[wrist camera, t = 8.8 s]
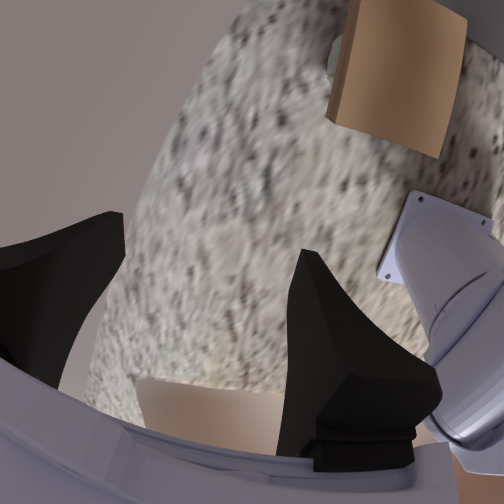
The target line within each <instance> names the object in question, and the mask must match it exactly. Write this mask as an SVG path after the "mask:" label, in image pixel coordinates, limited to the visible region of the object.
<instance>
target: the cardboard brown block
mask: <svg viewBox="0 0 504 504" xmlns="http://www.w3.org/2000/svg"><path fill="white" fill-rule="evenodd" d="M467 21H468V20H467V19H465V18H463V17H462V16H460V15H458V14H456V13H455V12H453V11H451V10H449V9H448V8H446V7H444V6H442V5H440V4H438V3H436V2H434V1H432V0H349V5H348V10H347V16H346V21H345V26H344V31H343V37H342V42H341V47H340V52H339V57H338V61H337V66H336V71H335V76H334V80H333V85H332V90H331V94H330V99H329V103H328V107H327V112H326V116H325V117H326V118H328V119H329V120H330V121H332V122H333V123H334V124H336V125H339V126H343V127H347V128H350V129H354V130H357V131H360V132H364V133H367V134H370V135H373V136H376V137H379V138H382V139H385V140H388V141H391V142H394V143H397V144H400V145H403V146H405V147H408V148H411V149H413V150H416V151H419V152H421V153H424V154H426V155H429V156H431V157H434V158H436V159H438V158H439V155H440V152H441V148H442V145H443V142H444V138H445V135H446V131H447V128H448V124H449V120H450V116H451V112H452V108H453V104H454V100H455V95H456V91H457V86H458V81H459V76H460V71H461V65H462V59H463V53H464V46H465V39H466V31H467Z"/></svg>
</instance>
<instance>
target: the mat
mask: <svg viewBox="0 0 504 504" xmlns="http://www.w3.org/2000/svg"><path fill="white" fill-rule="evenodd" d="M432 1H434V2H436V3H438V4H440V5H442V6H444V7H446V8H448V9H449V10H451V11H453V12H455V13H456V14H458V15H460V16H462V17H463V18H465V19H467V20H468V21H467V31H466V38H467V39H469V40H471V41H472V42H474V43H475V44H477V45H478V46H480V47H481V48H483V49H484V50H486V51H487V52H489V53H490V54H492V55H493V56H495V57H496V58H497V59H499V60H500V61H502V62H503V63H504V0H432Z"/></svg>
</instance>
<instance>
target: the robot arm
mask: <svg viewBox="0 0 504 504" xmlns="http://www.w3.org/2000/svg"><path fill="white" fill-rule="evenodd" d="M421 196H422V200H421V201H418V199H419V197H421ZM483 220H484V221H483ZM482 221H483V223H482ZM481 223H482V224H481ZM123 225H124V224H123V213H118V212H113V211H109V212H105V213H102V214H99V215H96V216H93V217H91V218H88V219H86V220H83V221H81V222H79V223H76V224H74V225H71V226H69V227H66V228H64V229H61V230H58V231H56V232H53V233H51V234H48V235H45V236H42V237H39V238H36V239H33V240H30V241H27V242H23V243H19V244H15V245H11V246H7V247H2V248H0V504H459V500H458V492H457V485H456V478H455V472H454V466H453V460H452V455H451V451H452V452H453V453H454V454H455V456H456V457H457V458H458V460H459V461H460V462H461V464H462V466H463V468H464V469H465V471H467V472H470V473H476V474H485V475H501V476H504V246H503V245H502V244H501V243H500V242H499V241H498V240H497V239H496V237H495V236H494V235H493V234H492V233H491V232H492V230H493V228H494V221H493V220H492V219H490V218H488V217H485V216H483V215H481V214H478V213H476V212H473V211H471V210H469V209H466V208H464V207H461V206H459V205H456V204H453V203H451V202H448V201H446V200H443V199H440V198H437V197H435V196H432V195H429V194H426V193H424V192H421V191H418V190H412V191H411V192H410V193H409V195H408V198H407V200H406V203H405V206H404V208H403V211H402V214H401V216H400V219H399V221H398V224H397V226H396V229H395V231H394V234H393V236H392V238H391V241H390V243H389V245H388V248H387V250H386V252H385V255H384V257H383V259H382V261H381V264H380V266H379V268H378V270H377V273H376V275H377V278H378V279H379V280H383V281H388V282H393V283H398V284H403V285H405V286H406V288H407V291H408V293H409V295H410V297H411V300H412V302H413V304H414V307H415V309H416V311H417V314H418V316H419V319H420V321H421V323H422V326H423V328H424V331H425V334H426V336H427V339H428V341H429V347H428V349H427V350H426V352H425V353H424V354H423V356H424V359H425V362H424V361H422V360H421V359H419V358H417V357H416V356H414V355H413V354H411V353H410V352H408V351H407V350H406V349H404V348H403V347H401V346H400V345H399V344H397V343H396V342H395V341H394V340H392V339H391V338H390V337H389V336H387V335H386V334H385V333H384V332H383V331H382V330H380V329H379V328H378V327H377V326H376V325H375V324H374V323H373V322H372V321H371V320H370V319H369V318H368V317H367V316H366V315H365V314H364V313H363V312H362V311H361V310H360V309H359V308H358V307H357V306H356V304H355V303H354V302H353V301H352V300H351V298H350V297H349V296H348V295H347V293H346V292H345V291H344V290H343V288H342V287H341V286H340V284H339V283H338V282H337V280H336V279H335V277H334V276H333V274H332V273H331V272H330V270H329V269H328V267H327V266H326V264H325V263H324V261H323V260H322V258H321V257H320V255H319V254H318V252H315V251H311V250H306V249H301V252H300V255H299V259H298V262H297V265H296V269H295V272H294V275H293V278H292V282H291V285H290V288H289V293H288V303H287V343H288V371H287V381H286V390H285V399H284V407H283V414H282V421H281V427H280V434H279V440H278V445H277V451H276V456H273V455H264V454H257V453H250V452H243V451H236V450H231V449H225V448H220V447H215V446H210V445H206V444H201V443H197V442H193V441H188V440H184V439H180V438H177V437H173V436H169V435H165V434H162V433H159V432H155V431H152V430H149V429H146V428H143V427H140V426H137V425H134V424H131V423H128V422H125V421H122V420H120V419H117V418H114V417H112V416H109V415H107V414H104V413H102V412H100V411H98V410H96V409H94V408H92V407H90V406H88V405H87V404H85V403H83V402H81V401H79V400H77V399H75V398H73V397H71V396H68V395H66V394H64V393H62V392H60V391H58V386H59V383H60V379H61V375H62V372H63V369H64V366H65V364H66V361H67V358H68V355H69V352H70V350H71V348H72V345H73V343H74V341H75V338H76V336H77V334H78V332H79V330H80V328H81V326H82V324H83V322H84V320H85V318H86V316H87V315H88V313H89V312H90V310H91V308H92V307H93V306H94V304H95V303H96V301H97V300H98V298H99V297H100V296H101V294H102V293H103V291H104V290H105V289H106V287H107V286H108V284H109V283H110V281H111V280H112V279H113V277H114V276H115V274H116V273H117V271H118V269H119V267H120V265H121V263H122V261H123V259H124V258H125V256H126V254H125V240H124V226H123ZM387 274H389V276H386V275H387ZM422 421H423V423H424V425H425V427H426V428H427V430H428V431H429V433H430V434H431V435H432V436H433V437H434V438H435V439H436V440H437V441H438V442H440V443H433V444H426V445H421V446H418V447H415V448H413V445H412V440H414V439H415V438H416V436H417V434H416V429H415V427H416V425H418V424H419V423H420V422H422Z"/></svg>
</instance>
